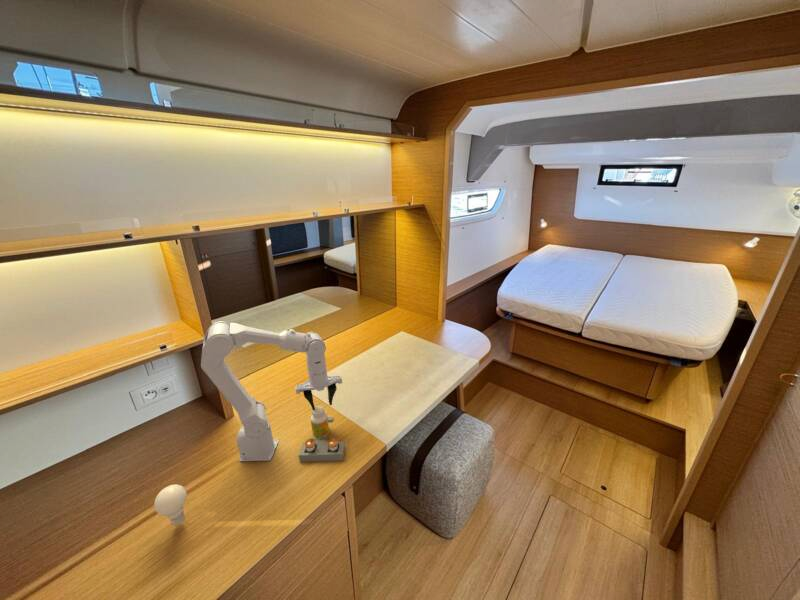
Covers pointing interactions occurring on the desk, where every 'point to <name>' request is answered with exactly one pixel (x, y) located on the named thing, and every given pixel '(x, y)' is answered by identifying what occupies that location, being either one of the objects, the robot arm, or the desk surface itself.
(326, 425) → the supplement bottle
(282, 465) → the desk surface
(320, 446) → the housing
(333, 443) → the plunger
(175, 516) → the lightbulb
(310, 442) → the plunger
